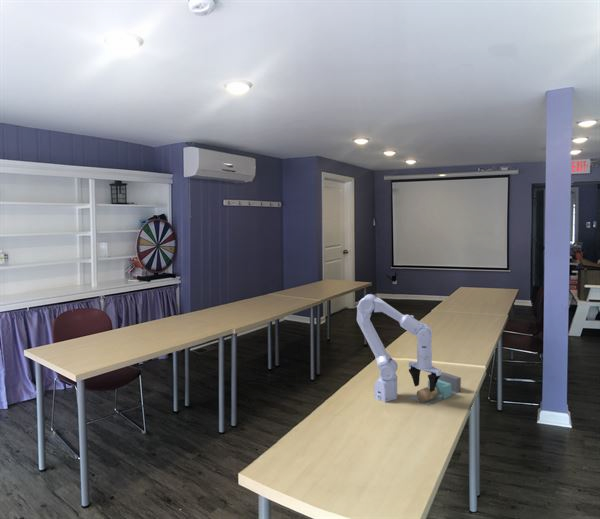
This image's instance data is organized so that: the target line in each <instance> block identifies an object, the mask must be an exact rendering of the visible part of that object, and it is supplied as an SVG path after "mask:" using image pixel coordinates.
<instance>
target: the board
mask: <svg viewBox="0 0 600 519" xmlns="http://www.w3.org/2000/svg"><path fill="white" fill-rule="evenodd" d="M456 394H457V393H456V392H453V391H451V396H450V397H452V396H453V395H456ZM408 399H410V400H413V401H414V402H417V403H420V404H423V405H425V406H430V405H433V404H435V403H437V402H439V401H441V400H444V399H443V398H442V394H438V396H437V397H435V398H432V399H430V400H428V401H425V402H421V401H419V400H418V398H417V394H414V395H412V396H409V397H408Z"/></svg>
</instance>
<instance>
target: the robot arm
mask: <svg viewBox="0 0 600 519" xmlns="http://www.w3.org/2000/svg"><path fill="white" fill-rule="evenodd" d="M373 312H374V313H383V314H385V315H387V316H388V317H390V318H392V319H393V320H395V321H397V322H398V323H399V326H400V327H401V328H403V329H404V330H406V331H407V332H409V333H410V334H411V335H413V336H416V339H417V344H416V348H417V349H416V362H415V361H409V362H408V372H409V374H410V376H411V378H412V382H413V384H414V387H418V386H419V385H420V375H421V371H423V372H427V373H430V374H428V375H427V378H428V381H429V384H430V392H433V391H435V387H436V383H437V381H438V379H439V377H440V376H441V372H442V370H441V369H439V368H437V367H435V366H434V365H433V361H432V360H433V357H432V356H433V345H432V337H433V330H432V327H430V325H429V324H426V323H424V322H423V321H422V322H421V321H419V320H418V319H416V318H414V317H415V316H414V315H412V314H411V315H409V314H403V313H401V312H400V311H399V310H397V309H395V308H394V307H393V306H391V305H390V304H388V303H387V302H386V301H384V300H383V299H382V298H380V297H377V296H376V295H374V294H372V293H370V294H369V293H368V294H366V295H364V297H362V298H361V299H360V300H359V302H358V304H357V306H356V322H357V324H358V326H359V328H360V330H361V332H362V334H363V336H364V338H365V339H366V341H367V343H368V346H369V348H370V349H371V352H372V353H373V355H374V357H375V359H376V365H377V367H378V370H379V371H378V373H379V378H378V379H377V380H376V381H375V382H374V384H373V385H374V386H373V388H374V389H373V390H374V391H373V392H374V393H373V397H374V399H376V400H378V401H380V402H382V403H387V402H389V401H390V402H391V401H393V400H394V401H395V400H396V399H398V375H397V373H396V372H397V370H398V363H397V362H396V361H395V359H393V357H392V356H391V354H389V352H387V350H386V347H385V345H384V344H383V342H382V340H381V338H380V337H379V335H378V334H379V333H378V332H377V331H376V329H375V327H374V325H373V323H372V321H371V316H372V313H373Z"/></svg>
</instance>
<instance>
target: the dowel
mask: <svg viewBox="0 0 600 519" xmlns="http://www.w3.org/2000/svg"><path fill="white" fill-rule="evenodd" d="M438 394H439V392H438V389H437V388H436V387H435V391H433V392H430V386H429V387H428V386H427V387H424V388H421V389H419V390H417V391H416V395H417V399H418V400H419V401H421V403H422V402H424V403H425V401H426V402H427V401H428V400H430V399H432V398H435V397H438Z"/></svg>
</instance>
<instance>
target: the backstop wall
mask: <svg viewBox="0 0 600 519" xmlns="http://www.w3.org/2000/svg"><path fill="white" fill-rule="evenodd" d="M438 380H441V381H444V382H447V383H450V384H451V391H453V392H456V394H458V393H460V392H461V388H462V387H461V386H462V383H461V382H462V377H460V376H456V375H454V374H450V373H447V372H444V371H441V376H440V377H439V379H438Z"/></svg>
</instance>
